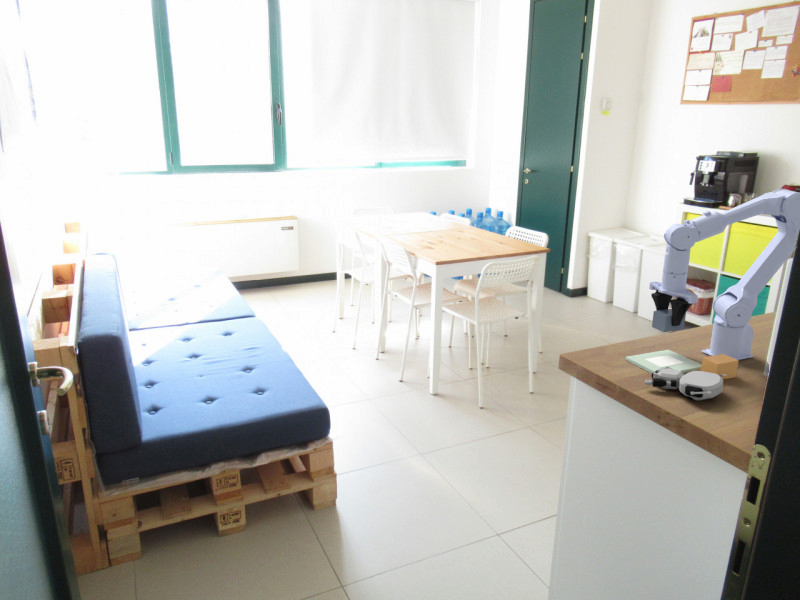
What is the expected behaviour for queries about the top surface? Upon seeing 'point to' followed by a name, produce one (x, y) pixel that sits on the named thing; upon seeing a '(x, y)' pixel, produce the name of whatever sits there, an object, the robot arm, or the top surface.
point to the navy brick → (665, 321)
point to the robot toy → (688, 382)
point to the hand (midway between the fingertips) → (668, 322)
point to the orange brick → (720, 365)
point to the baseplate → (663, 361)
